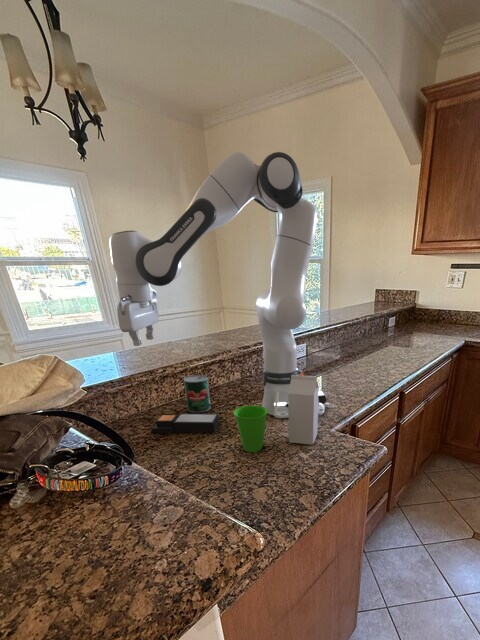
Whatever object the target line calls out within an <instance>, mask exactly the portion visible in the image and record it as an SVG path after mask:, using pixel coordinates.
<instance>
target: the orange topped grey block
mask: <svg viewBox="0 0 480 640" xmlns="http://www.w3.org/2000/svg"><path fill="white" fill-rule="evenodd" d="M178 416H179V415H178V414H161V416H159V417H158V418H157V419H156V420H155V423H156V427H174V425H173V422H174V421H175V420H176V419H177V417H178Z"/></svg>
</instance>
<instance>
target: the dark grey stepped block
mask: <svg viewBox="0 0 480 640" xmlns="http://www.w3.org/2000/svg"><path fill="white" fill-rule="evenodd" d="M173 425H174V427H157V426H153V427H151V432H152V434H174V433H207V434H208V433H213V434H214V433H215V432H216V431H217V428H218V427H219V425H220V415H219V413H180V414H179V415H178V417H177V419H176V420H175V421H174V422H173Z"/></svg>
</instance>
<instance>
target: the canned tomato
mask: <svg viewBox="0 0 480 640" xmlns="http://www.w3.org/2000/svg"><path fill="white" fill-rule="evenodd" d="M208 379H209V377H208V376H207V375H202V374H194V375H188V376H185V377H184V378H183V386H184V392H185V399H186V400H185V401H186V405H187V411H188V412H189V413H192V414H202V413H205V412H208V411H210V410H211V409H212V406H211V397H210V389H209V380H208Z"/></svg>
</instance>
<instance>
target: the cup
mask: <svg viewBox="0 0 480 640" xmlns="http://www.w3.org/2000/svg"><path fill="white" fill-rule="evenodd" d="M267 413H268V410H267V409H266V408H265V407H262V405H257V404H255V405H253V404H251V405H250V404H249V405H243V406H240V407H237V408H236V409H234V410H233V416H235V420H236V425H237V428H238V432H239V435H240V440H241V444H242V447H243V449H244V451H245V452H248V453H256V452H259V451H261V450H262V448H263V445H264V438H265V429H266V421H267V415H268V414H267Z"/></svg>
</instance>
